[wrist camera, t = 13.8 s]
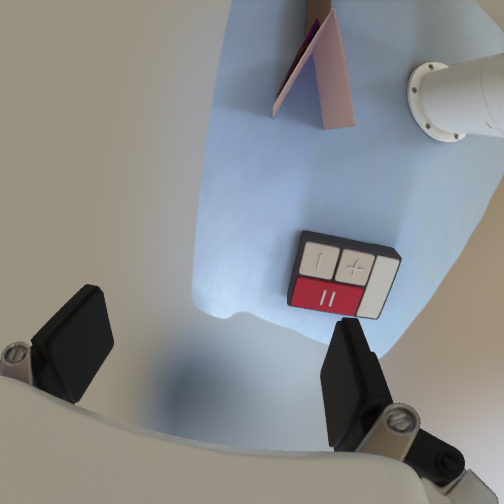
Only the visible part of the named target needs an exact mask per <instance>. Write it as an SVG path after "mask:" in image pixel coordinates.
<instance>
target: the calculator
mask: <svg viewBox="0 0 504 504" xmlns="http://www.w3.org/2000/svg"><path fill="white" fill-rule="evenodd" d="M401 260H402V258H401V256H400V255H399V254H398V253H397V252H396V250H395V249H394V248H390V247H386V246H381V245H377V244H367V243H362V242H358V241H353V240H348V239H344V238H339V237H334V236H329V235H324V234H320V233H315V232H310V231H303V232H302V234H301V238H300V243H299V247H298V251H297V256H296V260H295V264H294V269H293V273H292V277H291V281H290V285H289V289H288V293H287V304H288V305H289V306H293V307H299V308H304V309H310V310H316V311H322V312H328V313H335V314H341V315H347V316H354V317H361V318H368V319H375V320H377V319H378V318H379V316H380V314H381V312H382V309H383V307H384V305H385V302H386V300H387V297H388V295H389V292H390V290H391V287H392V285H393V282H394V280H395V277H396V274H397V272H398V269H399V266H400V263H401Z"/></svg>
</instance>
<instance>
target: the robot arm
mask: <svg viewBox="0 0 504 504" xmlns="http://www.w3.org/2000/svg"><path fill="white" fill-rule="evenodd" d="M412 90H413V91H412ZM407 96H408V102H409V107H410V109H411V112H412V115H413V116H414V118H415V120H416V122H417V123H418V125H419V126H420V127H421V128H422V129H423V130H424V131H425V132H426V133H427V134H428V135H429V136H431V137H432V138H434V139H436V140H438V141H442V142H450V143H451V142H457V141H459V140H461V139H462V138H464V137H465V136H466V135H467V134H475V135H484V136H492V137H500V138H504V53H501V54H497V55H492V56H488V57H484V58H480V59H475V60H472V61H468V62H464V63H460V64H457V65H453V66H450V67H449V66H447V65H445V64H442V63H439V62H427V63H424V64H422V65H420V66H418V67H417V68H416V69H415V70H414V71H413V72H412V74H411V76H410V78H409V81H408V87H407ZM31 342H32V346H31V347H30V346H29V345H28V344H26V343H25V342H21V341H20V342H14V343H11V344H10V345H8V346H7V347H6V348H5V349H4V350H3V352H2V354H1V360H0V504H498V503H499V502H498V498H497V496H496V494H495V493H494V492H493V491H492V490H491V489H490V488H489V487H488V486H487V485H486V484H485V483H484V482H483V481H482V480H481V479H480V478H479V477H478V476H477V475H476V474H475V473H474V472H473V471H472V470H471V469H469V470H465V468H464V467H465V460H464V457H463V455H462V453H461V452H460V451H459V450H458V449H456V448H455V447H453V446H451V445H449V444H447V443H445V442H444V441H442V440H440V439H438V438H436V437H435V436H433V435H431V434H429V433H428V432H426V431H424V430H422V429H421V428H420V424H421V422H420V417H419V415H418V413H417V412H416V410H415V409H414V408H412V407H411V406H409V405H406V404H404V403H393V400H392V397H391V394H390V391H389V389H388V386H387V383H386V380H385V377H384V375H383V372H382V369H381V367H380V364H379V361H378V358H377V356H376V354H375V353H374V352H371V351H370V348H369V346H368V343H367V340H366V338H365V335H364V333H363V330H362V327H361V325H360V322H359V320H358V319H357V318H346V317H343V318H342V320H341V321H337V323H336V326H335V329H334V332H333V335H332V339H331V342H330V345H329V348H328V351H327V354H326V357H325V360H324V363H323V366H322V369H321V374H320V379H321V386H322V393H323V400H324V408H325V416H326V424H327V432H328V441H329V446H330V447H334V452H311V451H310V452H309V451H307V452H306V451H282V450H266V449H254V448H244V447H235V446H227V445H220V444H214V443H207V442H202V441H196V440H191V439H186V438H181V437H176V436H172V435H167V434H163V433H159V432H155V431H151V430H148V429H144V428H140V427H137V426H133V425H130V424H127V423H124V422H120V421H117V420H114V419H111V418H108V417H105V416H103V415H100V414H97V413H94V412H92V411H89V410H86V409H84V408H81V407H79V406H76V405H74V404H75V403H76V402H79V401H80V399H81V398H82V396H83V394H84V393H85V391H86V389H87V388H88V386H89V384H90V383H91V381H92V380H93V378H94V376H95V375H96V373H97V372H98V370H99V368H100V367H101V365H102V364H103V362H104V360H105V359H106V357H107V356H108V354H109V353H110V351H111V350H112V348H113V345H114V339H113V335H112V331H111V327H110V323H109V318H108V313H107V308H106V303H105V298H104V294H103V291H101V289H100V288H99V287H98V286H94V285H89V284H86V285H85V286H83V287H82V288H81V289H80V290H79V291H78V292H77V293H76V294H75V295H74V296H73V297H72V298H71V299H70V300H69V301H68V302H67V303H66V304H65V305H64V306H63V307H62V308H61V309H60V310H59V311H58V312H57V313H56V314H55V315H54V316H53V317H52V318H51V319H50V320H49V321H48V322H47V323H46V324H45V325H44V326H43V327H42V328H41V329H40V330H39V331H38V332H37V333H36V335H35V336H34V337H33V338H32V339H31Z"/></svg>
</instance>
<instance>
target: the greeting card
mask: <svg viewBox="0 0 504 504" xmlns="http://www.w3.org/2000/svg"><path fill="white" fill-rule="evenodd" d="M311 53H312V54H313V59H314V65H315V71H316V77H317V84H318V90H319V97H320V104H321V112H322V120H323V128H324V130H328V129H335V128H343V127H352V126H355V122H354V113H353V105H352V98H351V91H350V84H349V78H348V72H347V66H346V60H345V55H344V50H343V45H342V40H341V35H340V31H339V27H338V22H337V18H336V14H335V10H334V7H333V9H332V10H331V12H330V13H329V15H328V16H327V18H326V20H325V21H324V23H323V24H322V26H321V27H320V23H319V20H318V18H316V19H315V21H314V23H313V25H312V27H311V29H310V31H309V32H308V34H307V36H306V38H305V40H304V42H303V44H302V46H301V48H300V50H299V52H298V53H297V55H296V57H295V59H294V61H293V63H292V65H291V67H290V69H289V71H288V73H287V75H286V77H285V79H284V81H283V83H282V85H281V87H280V89H279V91H278V93H277V95H276V97H277V101H276V102H275V104H274V106H273V119H274V117H275V115H276V113H277V111H278V110H279V108H280V106H281V104H282V103H283V101H284V99H285V97H286V96H287V94H288V92H289V90H290V89H291V87H292V85H293V83H294V82H295V80H296V78H297V77H298V75H299V73H300V72H301V70H302V68H303V67H304V65H305V63H306V62H307V60H308V58H309V57H310V55H311Z"/></svg>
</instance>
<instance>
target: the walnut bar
mask: <svg viewBox="0 0 504 504" xmlns="http://www.w3.org/2000/svg"><path fill="white" fill-rule="evenodd" d="M330 11H331V0H307V8H306V24H305V38H306V36H307V34H308V32H309V31H310V29H311V27H312V25H313V23H314V21H315V19H316V18H318V20H319V23H320V27H321V26H322V24H323V23H324V21H325V20H326V18H327V16H328V15H329V13H330ZM304 40H305V39H304Z"/></svg>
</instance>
